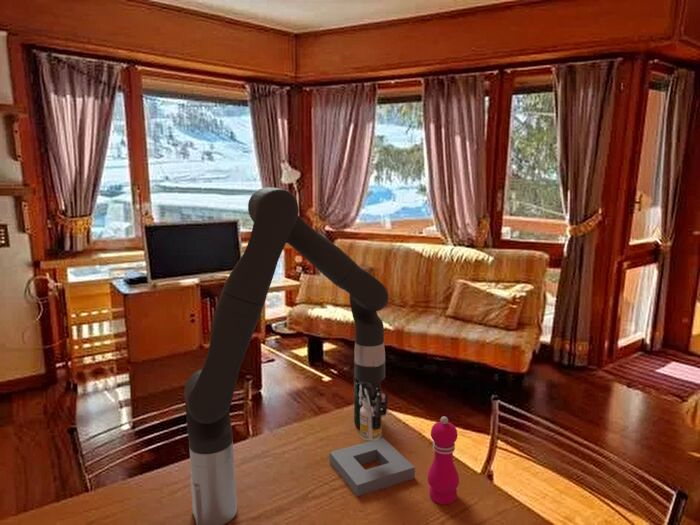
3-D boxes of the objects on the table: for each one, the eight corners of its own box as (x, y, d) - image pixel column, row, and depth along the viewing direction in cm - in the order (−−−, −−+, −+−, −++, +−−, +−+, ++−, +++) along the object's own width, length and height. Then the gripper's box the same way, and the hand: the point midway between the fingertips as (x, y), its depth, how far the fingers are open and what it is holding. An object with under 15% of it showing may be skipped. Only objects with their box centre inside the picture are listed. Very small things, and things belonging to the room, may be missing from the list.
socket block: (357, 496, 119) (357, 485, 119) (329, 462, 134) (329, 452, 133) (414, 478, 126) (414, 467, 126) (382, 447, 140) (382, 437, 140)
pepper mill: (435, 508, 115) (436, 426, 111) (422, 489, 122) (423, 411, 118) (464, 502, 117) (466, 421, 113) (450, 484, 123) (451, 407, 120)
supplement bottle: (382, 430, 131) (381, 395, 129) (381, 441, 125) (380, 405, 124) (361, 430, 131) (360, 394, 129) (359, 441, 126) (358, 404, 124)
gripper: (343, 353, 129) (345, 414, 132) (370, 372, 117) (371, 440, 120) (369, 348, 133) (370, 408, 136) (398, 366, 120) (398, 432, 123)
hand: (370, 423), depth 128 cm, fingers closed on supplement bottle, 5 cm apart
